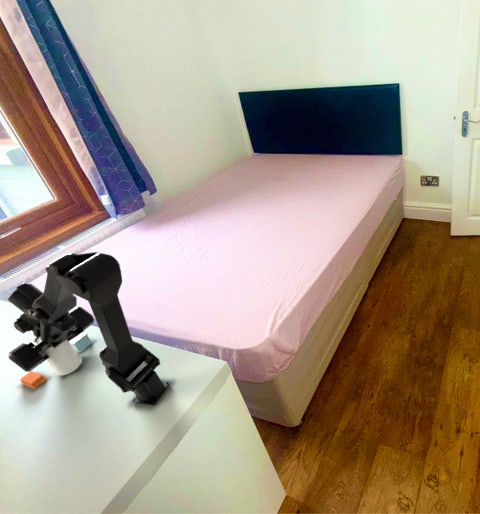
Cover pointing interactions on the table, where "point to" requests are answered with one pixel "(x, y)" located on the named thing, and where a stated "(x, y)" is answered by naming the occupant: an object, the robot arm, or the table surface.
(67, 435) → the table surface
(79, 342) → the box
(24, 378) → the orange rectangular block
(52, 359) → the can
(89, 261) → the robot arm
